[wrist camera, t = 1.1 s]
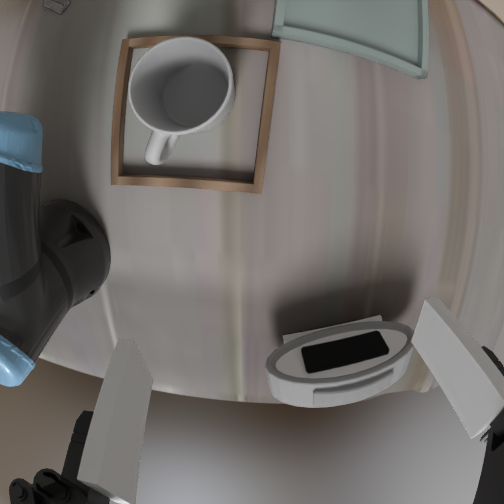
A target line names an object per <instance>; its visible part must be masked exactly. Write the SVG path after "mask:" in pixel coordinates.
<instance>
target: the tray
mask: <svg viewBox="0 0 504 504" xmlns="http://www.w3.org/2000/svg"><path fill="white" fill-rule="evenodd" d="M271 37H275V38H281V39H287V40H293V41H298V42H304V43H308V44H313V45H317V46H322V47H326V48H330V49H334V50H338V51H341V52H345V53H348V54H352V55H355V56H358V57H362V58H365V59H368V60H371V61H374V62H377V63H379V64H382V65H385V66H388V67H390V68H393V69H395V70H398V71H401V72H403V73H405V74H408V75H410V76H413V77H415V78H417V79H425V78H427V74H428V49H429V27H428V4H427V0H276V2H275V10H274V17H273V25H272V33H271Z"/></svg>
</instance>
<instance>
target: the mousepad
mask: <svg viewBox="0 0 504 504" xmlns="http://www.w3.org/2000/svg"><path fill="white" fill-rule="evenodd" d="M69 1H70V0H69ZM69 1H66V2H65V3H64V5H62V4H60V3H57V2H55V1H53V0H46V1H44V3H43V6H44V7H46V8H49V9H51V10H53V11H55V12H57V13H59V14H62V13H63V12H64V10H65V9H66V8H67V6H68V5H69V4H70V2H69Z"/></svg>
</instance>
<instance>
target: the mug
mask: <svg viewBox="0 0 504 504" xmlns="http://www.w3.org/2000/svg"><path fill="white" fill-rule="evenodd" d="M128 95H129V101H130V105H131V107H132V110H133V112H134V113H135V115H136V116H137V118H138V119H139V120H140V121H141V122H142V123H143V124H144V125H146V126H147V127H149V128H150V129H152V130H153V131H152V134H151V137H150V139H149V142H148V144H147V147H146V151H145V159H146V161H147V162H149V163H151V164H153V165H159V164H161V163H163V162H164V161H165V160H166V159H167V158H168V157H169V156H170V154H171V152H172V150H173V148H174V146H175V144H176V142H177V140H178V138H179V136H180V135H183V134H189V133H194V132H201V131H205V130H209V129H211V128H213V127H215V126H217V125H218V124H220V123H221V122H222V121H223V120H224V119H225V118H226V117H227V116H228V114H229V113H230V111H231V109H232V107H233V104H234V99H235V88H234V80H233V72H232V69H231V66H230V63H229V61H228V59H227V58H226V56H225V55H224V54H223V53H222V51H221V50H220V49H219V48H217V47H216V46H215V45H213V44H212V43H210V42H208V41H206V40H203V39H200V38H196V37H176V38H171V39H168V40H165V41H162V42H160V43H158V44H156V45H155V46H153V47H152V48H150V49H149V50H148V51H147V52H146V53H145V54H144V55H143V56H142V57H141V58H140V59H139V61H138V62H137V63H136V65H135V67H134V69H133V71H132V73H131V76H130V80H129V86H128Z"/></svg>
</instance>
